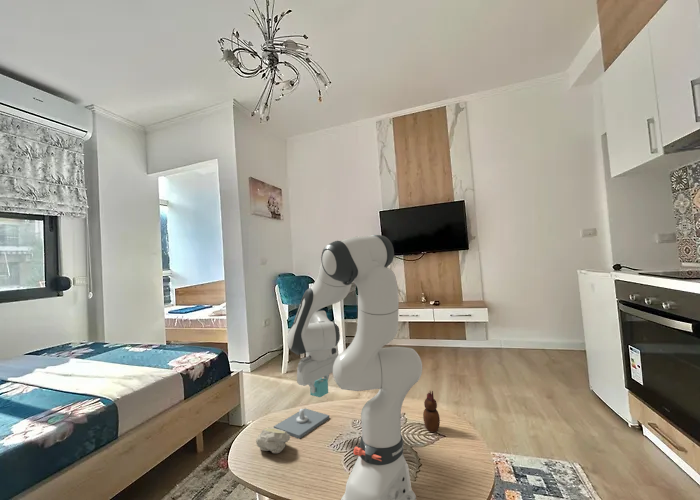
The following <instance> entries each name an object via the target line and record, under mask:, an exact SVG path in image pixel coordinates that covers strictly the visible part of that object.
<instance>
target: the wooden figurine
mask: <svg viewBox="0 0 700 500" xmlns="http://www.w3.org/2000/svg"><path fill="white" fill-rule="evenodd" d="M434 397H435V396H434V391H433V390H429V392H428V393H427V394H426V398H425V399H424V401H423V403H424V404H423V405H424V410H423V415H422V416H423V417H422V419H423V422H424V426H425V429H426V430H427V431H428V432H430V433H436V432H437V431H439V429H440V424H441V423H440V421H441V419H440V414H439V411H438V410H437V408H438V404H437V401H436V399H435V398H434Z"/></svg>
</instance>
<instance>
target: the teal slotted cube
mask: <svg viewBox="0 0 700 500" xmlns="http://www.w3.org/2000/svg"><path fill="white" fill-rule="evenodd" d="M323 378H324V377H322V378H320V379H318V380H316V381H315V384H314V386H315V387H317V392H315V393H311V388H310V387H309V391H310V392H309V393H310V396H314V397H317V398H323V396H325V395H327V394H328V393H329V379H323Z"/></svg>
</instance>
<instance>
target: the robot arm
mask: <svg viewBox="0 0 700 500" xmlns="http://www.w3.org/2000/svg"><path fill="white" fill-rule="evenodd" d="M394 250H395V249H394V246H393V243H392V242H391V240H390V239H389V238H388V237H387V236H385V235H381V234H371V235H363V236H351V237H348V238H345V239H342V240H335V241H332V242H330V243H329V244H327V245H325V246H324V248H323V249H322V252H321V256H320V258H321V261H320V264H319V265H320V266H319V268H318V269H319V270H318V274H317V278H316V279H315V281H314V282H313V284H312V285H311V286H310V287H309V288H307V289H306V290H305V291H304V293H303V295H302V297H301V300H300V303H299V305H298V308H297V312H296V314H295V317H294V319H293V322H292V325H291V326H290V327H289V329H288V332H287V335H286V336H287V337H286V338H287V340H286V342H287V347H288V349H289V351H291V352H292V353H294V354H295V355H297V356H299V355H302V354H303V355H304V354H305V357H302V358H301V359H300V360H299V362H298V364H297V371H296V372H297V373H296V383H297V384H298V385H300V386H304V387H305V386H308V387H309V389H310V388H311V393H315V392H317V387H315V386H314V384H315V381H316V380H318V379H320V378H323V379H328V380H329V378H330V374H332V375H333V379H334V381H335V383H336V385H337V386H338V387H339V388H340V389H341V390H345V391H351V392H359V391H360V392H361V391H363V392H364V391H372V390H373V391H374V390H378V392H377V393H376V395H374V396H373V397H372V398H370V399H369V400H368V401H367V402H365V404H364V405H363V407H362V409H361V411H360V417H361V418H360V420H361V422H360V423H361V437H360V442H359V446H358V445H357V446H356V445H355V447H354V448H353V455H355V456H358V457H357V459H356V461H355V463H354V465H353V468H352V469H351V472H350V474H349V476H348V479H347V481H346V484H345V492H344V494H343V495H342V497H341V499H340V500H417V496H416V493H415V492H414V491H413V490H412V485H411V477H410V469H409V465H408V463H407V461H406V458H405V456H404V446H405V445H404V440H403V435H402V431H401V429H402V428H401V425H402V424H401V417H402V416H401V415H402V406H403V403H404V400H405V399H406V396H407V394H408V392H409V391H410V390H411V388H412V387H413V386H414V385H416V384H417V383H418V382H419V380H420V379H421V376H422V374H423V361H422V359H421V357H420V355H419V354H418V352H417V351H416V350H415V349H414V348H411V347H407V346H406V347H404V346H389V347H388V346H387V347H384V346H386V345H388V344H389V343H390V342H392V341H393V340H394V339H395V338H396V336H397V334H398V331H399V301H400V300H399V289H398V283H397V282H398V281H397V277H396V274H395V272H394V271H393V270H392V269H390V268H389V266H390V265H391V264H392V263H393V261H394V257H395V251H394ZM353 283H354V285H355V286H356V288H357V294H358V295H357V324H356V325H357V326H356V331H355V335H354V337H353V339H352V340H351V343H349V345H348V347H346V348H345V349H344V350H343V351H342V352H341V353H339V354H337V353H338V347H337V345H338V344H339V342H340V339H341V338H340V337H341V335H340V333H341V332H340V328H339V326H338V325H337V324H336V323H335V321H331V320H330V319H329V318H328V315H327V312H326V311H325V310H324V309H323V308H325V307H328V306H329V307H330V306H331V305H335V304H337V303H339V302H342V301H343V300H344V299H345V298H347V296H348V295H349V293H350V291H351V287H352V284H353Z"/></svg>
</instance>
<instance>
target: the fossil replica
mask: <svg viewBox="0 0 700 500" xmlns="http://www.w3.org/2000/svg"><path fill="white" fill-rule="evenodd" d="M290 440H291V436H290V435H289V434H287V432H286V431H283V430H280V429H276V428H274V427H268V428H266V427H265V428H263V429H262V430H261V432H260V433H259V434H258V436H257V437H256V440H255V443H256V445H257V447H258V448H259V449H260V450H261V451H263V452H265V451H266V452H268V451H270V452H271V453H272V454H276V455H277V454H280V453H281V452H282V451H283V450H284V449H285V447H286V443H288V442H289V441H290Z"/></svg>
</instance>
